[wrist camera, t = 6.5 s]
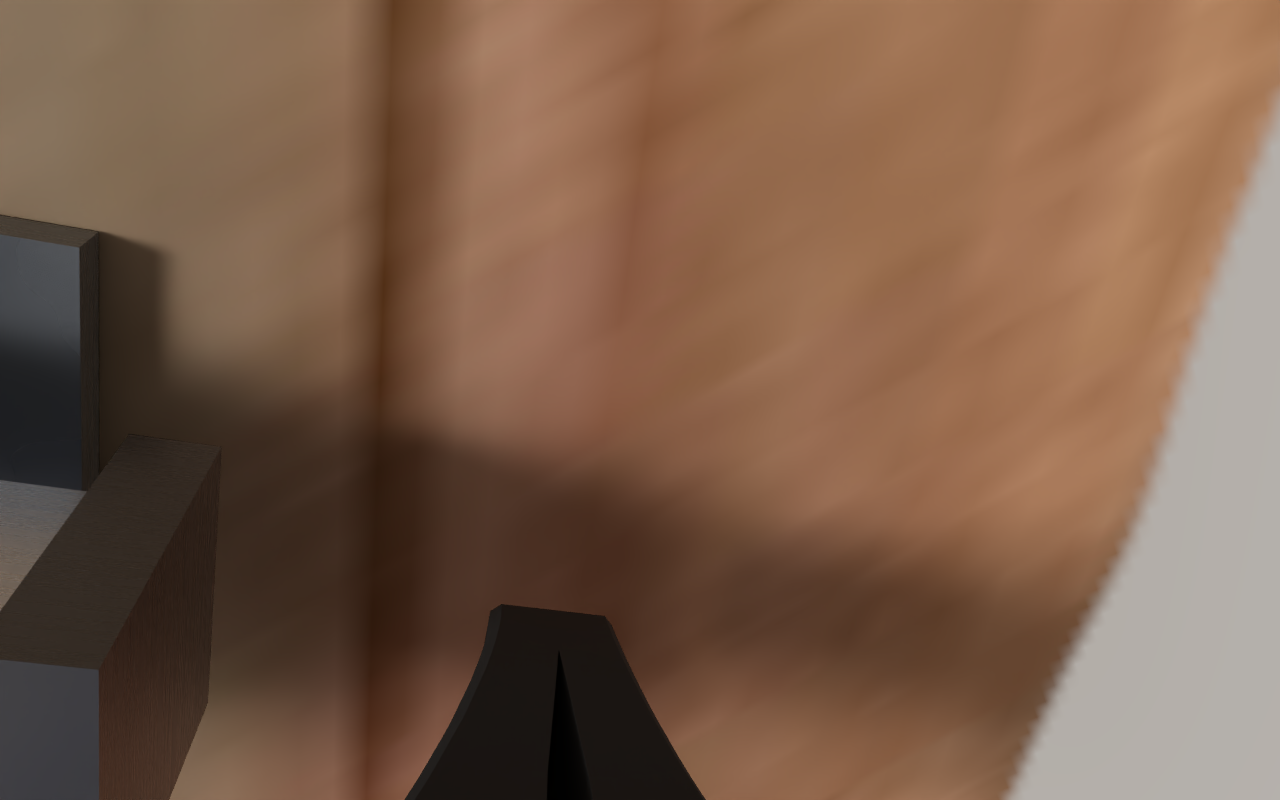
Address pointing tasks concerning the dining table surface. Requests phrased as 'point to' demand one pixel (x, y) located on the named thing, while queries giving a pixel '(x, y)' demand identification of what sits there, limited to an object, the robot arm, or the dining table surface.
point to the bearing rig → (49, 354)
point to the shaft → (107, 624)
